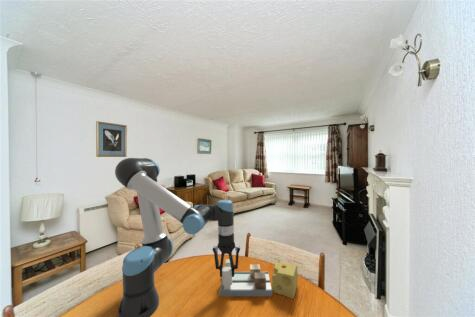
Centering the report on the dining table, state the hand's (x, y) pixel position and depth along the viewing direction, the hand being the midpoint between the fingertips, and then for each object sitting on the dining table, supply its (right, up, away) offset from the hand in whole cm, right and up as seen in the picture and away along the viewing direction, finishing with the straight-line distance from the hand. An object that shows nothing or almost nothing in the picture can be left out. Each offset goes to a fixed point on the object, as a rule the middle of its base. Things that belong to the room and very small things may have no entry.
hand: (227, 283), depth 85 cm
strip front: (+10, -2, 0) cm, 10 cm away
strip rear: (+10, -2, +7) cm, 12 cm away
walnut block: (+16, -1, -1) cm, 16 cm away
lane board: (+9, -3, +3) cm, 10 cm away
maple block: (+14, -1, +6) cm, 15 cm away
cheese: (+28, -3, 0) cm, 28 cm away
